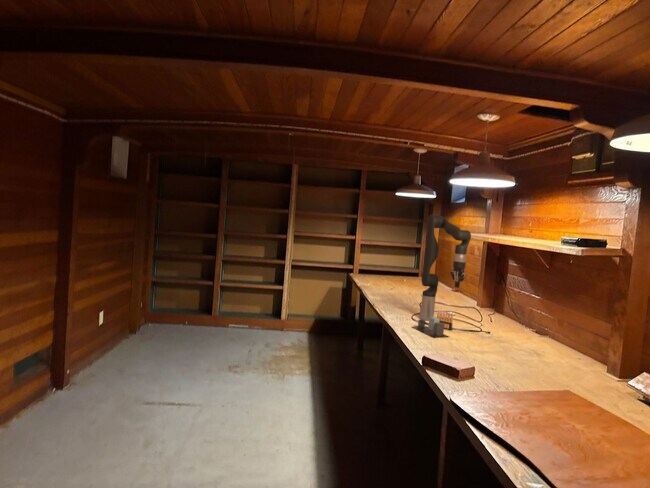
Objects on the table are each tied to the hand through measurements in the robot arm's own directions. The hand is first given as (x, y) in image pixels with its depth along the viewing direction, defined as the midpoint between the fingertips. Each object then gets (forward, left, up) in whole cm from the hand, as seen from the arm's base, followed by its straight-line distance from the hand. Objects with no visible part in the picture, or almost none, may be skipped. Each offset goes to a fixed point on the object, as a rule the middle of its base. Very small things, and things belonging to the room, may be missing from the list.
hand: (456, 287), depth 260 cm
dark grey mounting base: (0, -18, -29) cm, 34 cm away
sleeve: (+3, -18, -27) cm, 32 cm away
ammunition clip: (-6, -2, -29) cm, 30 cm away
